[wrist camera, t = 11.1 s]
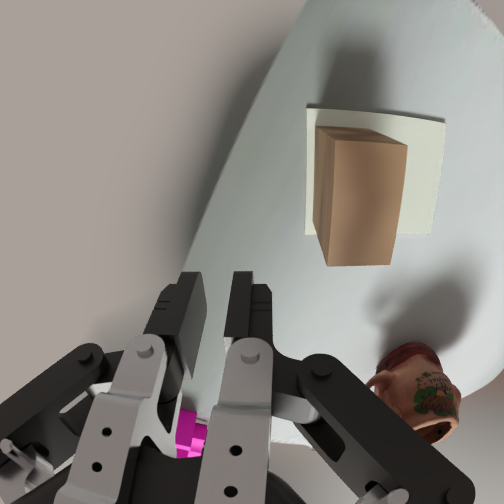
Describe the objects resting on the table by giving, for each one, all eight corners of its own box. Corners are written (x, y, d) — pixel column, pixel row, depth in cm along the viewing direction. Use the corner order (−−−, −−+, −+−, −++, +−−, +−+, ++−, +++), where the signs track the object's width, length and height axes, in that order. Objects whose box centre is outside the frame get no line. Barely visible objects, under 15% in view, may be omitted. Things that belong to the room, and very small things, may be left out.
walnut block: (369, 128, 24) (407, 145, 17) (362, 220, 28) (389, 264, 21) (314, 125, 24) (335, 140, 17) (312, 220, 28) (327, 266, 21)
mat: (444, 122, 23) (446, 123, 22) (428, 232, 29) (429, 234, 28) (306, 108, 23) (306, 108, 23) (304, 232, 29) (304, 234, 29)
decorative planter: (321, 375, 41) (331, 460, 29) (368, 318, 35) (399, 413, 23) (414, 389, 44) (434, 454, 32) (459, 343, 38) (492, 411, 26)
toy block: (201, 442, 56) (197, 471, 49) (173, 436, 55) (167, 465, 49) (210, 414, 48) (205, 450, 42) (176, 407, 48) (168, 442, 41)
